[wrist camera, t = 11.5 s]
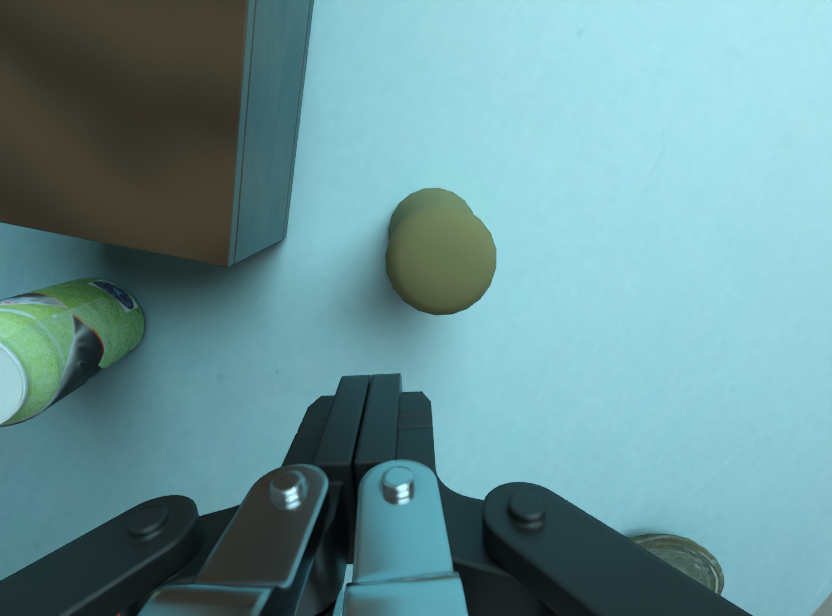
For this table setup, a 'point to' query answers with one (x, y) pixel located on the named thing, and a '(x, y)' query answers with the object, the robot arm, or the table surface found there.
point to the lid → (685, 558)
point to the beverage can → (61, 342)
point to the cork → (439, 253)
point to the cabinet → (153, 121)
